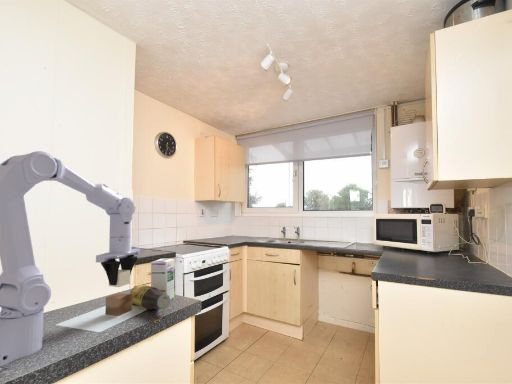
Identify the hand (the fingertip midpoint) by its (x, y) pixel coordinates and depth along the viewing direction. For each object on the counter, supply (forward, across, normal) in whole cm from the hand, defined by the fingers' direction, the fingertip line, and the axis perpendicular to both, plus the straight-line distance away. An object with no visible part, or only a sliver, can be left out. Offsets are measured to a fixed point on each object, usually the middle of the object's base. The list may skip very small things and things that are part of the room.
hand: (119, 282), depth 79 cm
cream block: (+1, 0, 0) cm, 1 cm away
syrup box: (+10, +12, -6) cm, 17 cm away
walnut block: (+9, 0, 0) cm, 9 cm away
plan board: (+10, -3, +2) cm, 10 cm away
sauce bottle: (+7, +10, +3) cm, 13 cm away
